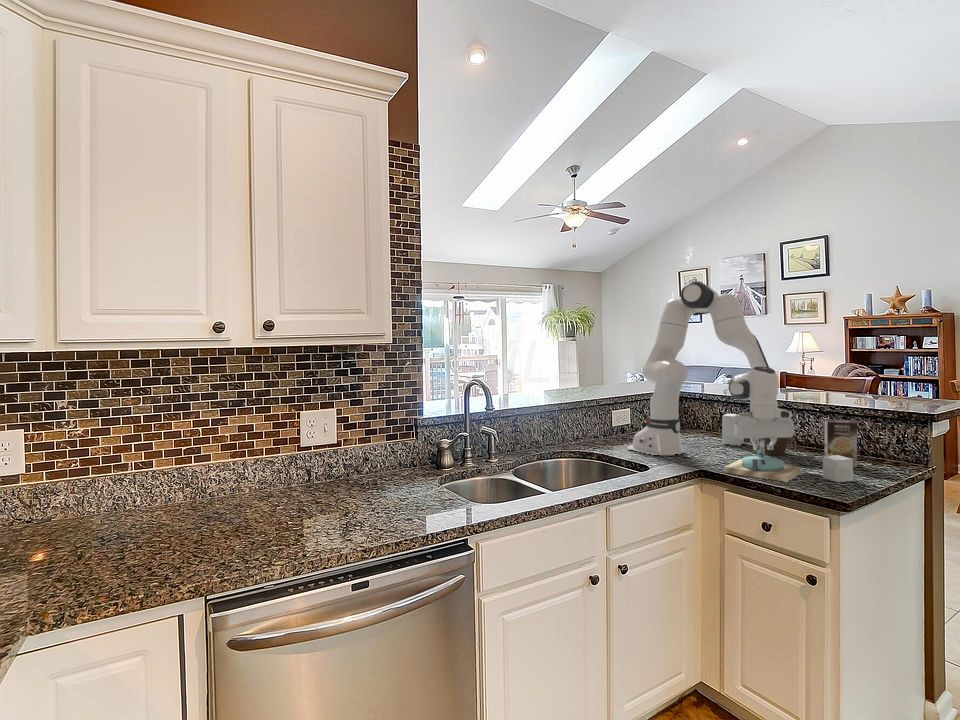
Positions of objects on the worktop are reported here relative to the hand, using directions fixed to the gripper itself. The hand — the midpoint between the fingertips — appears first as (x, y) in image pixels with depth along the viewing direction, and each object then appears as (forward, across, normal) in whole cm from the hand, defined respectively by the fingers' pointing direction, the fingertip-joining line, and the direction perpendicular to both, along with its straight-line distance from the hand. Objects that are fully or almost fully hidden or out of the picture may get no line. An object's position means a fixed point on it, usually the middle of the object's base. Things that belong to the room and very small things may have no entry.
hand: (763, 449), depth 196 cm
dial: (+4, -3, -6) cm, 8 cm away
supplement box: (+7, +6, +39) cm, 40 cm away
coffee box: (+6, +27, -1) cm, 28 cm away
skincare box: (+6, +15, -19) cm, 25 cm away
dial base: (+6, -4, -8) cm, 11 cm away
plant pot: (+7, +14, +20) cm, 25 cm away
